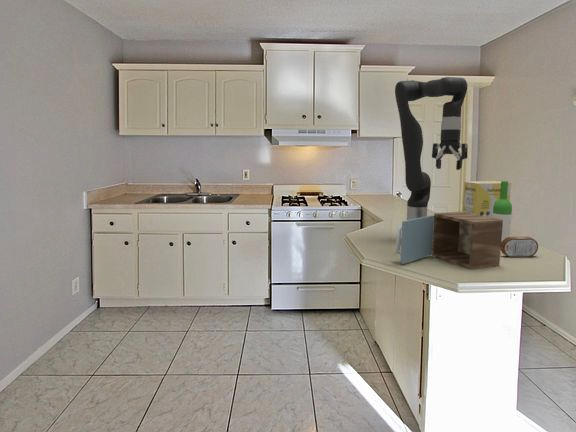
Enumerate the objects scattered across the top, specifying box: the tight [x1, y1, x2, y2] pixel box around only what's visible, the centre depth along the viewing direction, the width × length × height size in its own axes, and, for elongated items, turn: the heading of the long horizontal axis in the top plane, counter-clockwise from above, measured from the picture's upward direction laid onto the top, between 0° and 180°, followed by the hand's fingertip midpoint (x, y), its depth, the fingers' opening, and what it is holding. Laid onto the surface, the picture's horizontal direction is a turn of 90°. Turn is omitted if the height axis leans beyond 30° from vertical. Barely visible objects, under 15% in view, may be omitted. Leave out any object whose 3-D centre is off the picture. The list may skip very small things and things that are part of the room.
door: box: [395, 214, 434, 264], centre depth 182 cm, size 21×6×16 cm, turn 133°
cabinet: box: [431, 211, 503, 270], centre depth 181 cm, size 22×14×18 cm, turn 23°
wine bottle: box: [492, 180, 513, 243], centre depth 205 cm, size 8×8×30 cm
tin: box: [500, 236, 539, 258], centre depth 189 cm, size 15×3×8 cm, turn 92°
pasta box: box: [461, 180, 512, 218], centre depth 222 cm, size 18×10×28 cm, turn 103°
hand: (448, 169), depth 185 cm, fingers open, 8 cm apart
